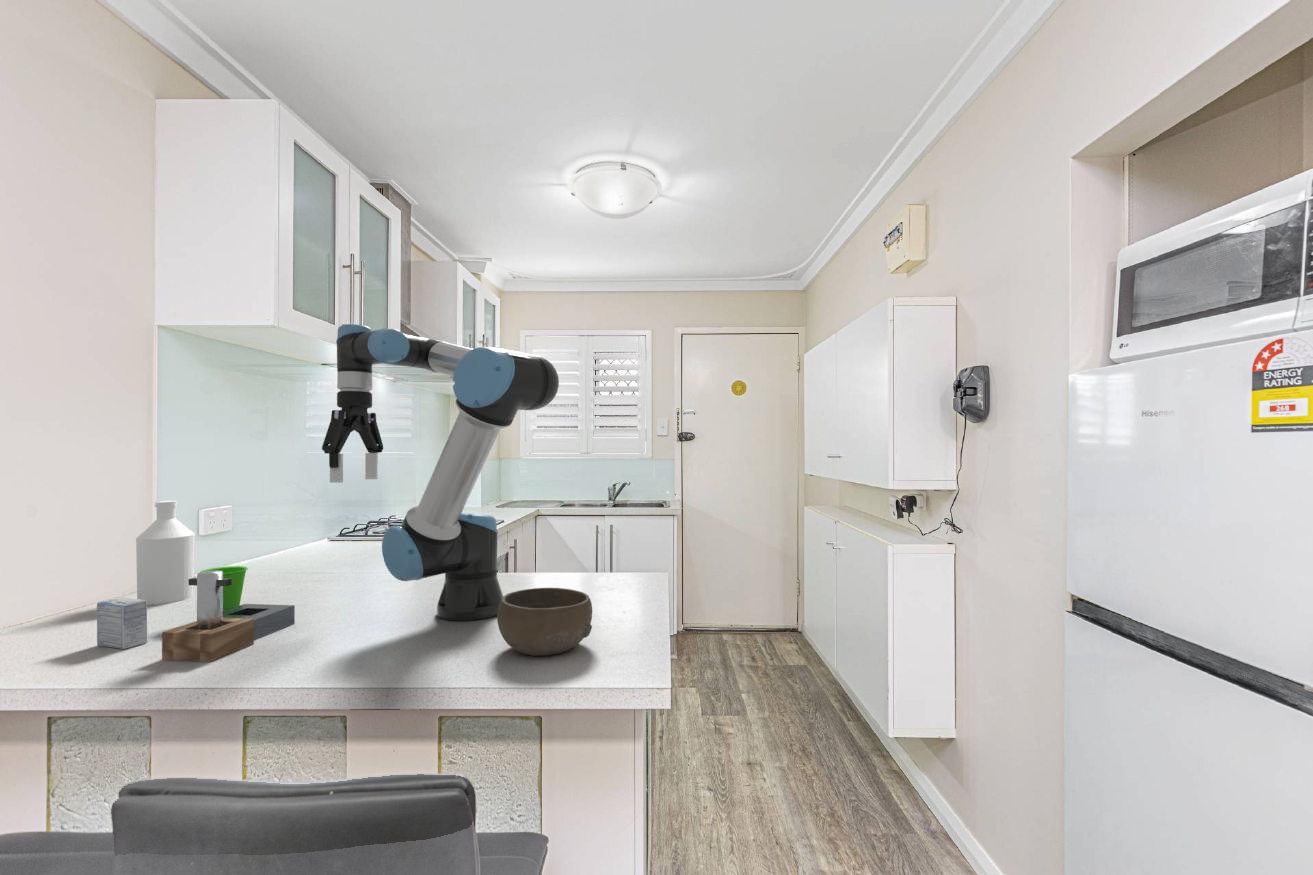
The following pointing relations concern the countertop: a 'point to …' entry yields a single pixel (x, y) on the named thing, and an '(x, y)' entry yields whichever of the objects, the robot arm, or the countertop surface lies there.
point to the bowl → (544, 620)
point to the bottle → (165, 558)
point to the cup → (235, 590)
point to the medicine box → (122, 622)
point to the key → (210, 598)
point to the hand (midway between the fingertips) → (354, 480)
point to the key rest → (207, 640)
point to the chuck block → (264, 616)
